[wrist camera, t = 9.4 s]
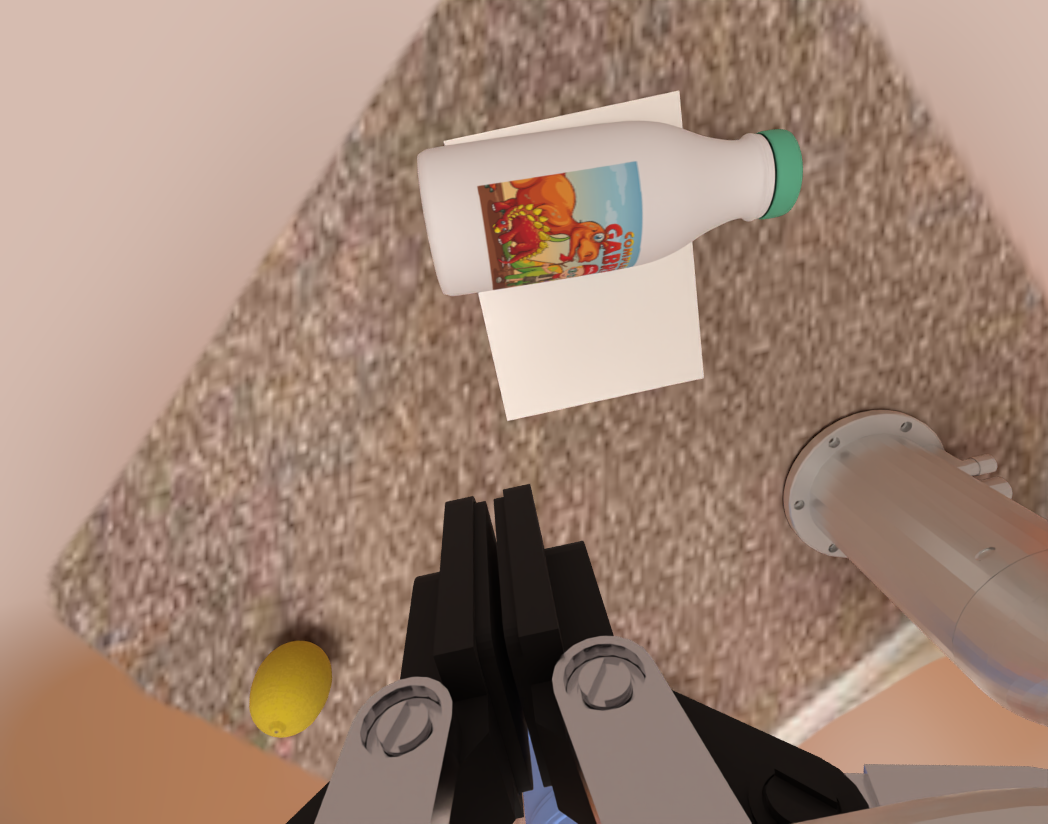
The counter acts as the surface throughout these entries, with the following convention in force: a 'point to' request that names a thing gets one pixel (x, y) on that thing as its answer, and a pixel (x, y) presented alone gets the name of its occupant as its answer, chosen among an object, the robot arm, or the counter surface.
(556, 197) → the milk bottle
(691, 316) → the cutting board
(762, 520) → the counter surface
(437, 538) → the counter surface
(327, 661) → the lemon
